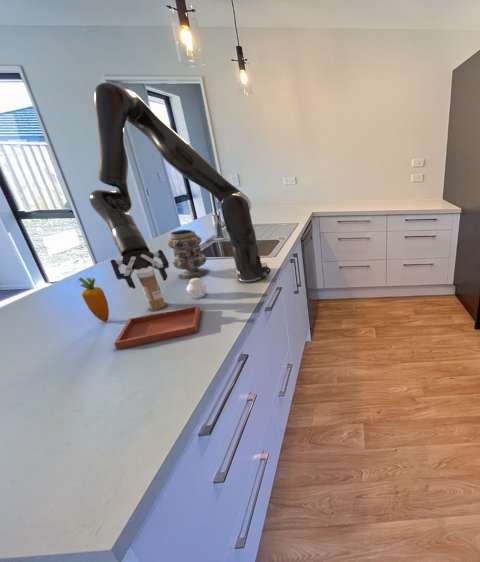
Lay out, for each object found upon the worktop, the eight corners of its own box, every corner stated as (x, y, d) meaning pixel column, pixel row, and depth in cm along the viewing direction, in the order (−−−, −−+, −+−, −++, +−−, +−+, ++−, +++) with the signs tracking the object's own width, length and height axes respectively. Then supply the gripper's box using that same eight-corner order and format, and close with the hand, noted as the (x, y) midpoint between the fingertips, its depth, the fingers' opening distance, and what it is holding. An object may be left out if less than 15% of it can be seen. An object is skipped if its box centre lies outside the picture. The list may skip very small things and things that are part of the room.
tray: (200, 310, 97) (198, 305, 96) (196, 332, 86) (194, 326, 85) (131, 324, 90) (128, 318, 89) (116, 349, 79) (114, 343, 78)
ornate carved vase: (215, 271, 128) (204, 230, 120) (186, 281, 119) (173, 237, 111) (199, 266, 134) (188, 226, 126) (171, 275, 125) (157, 233, 117)
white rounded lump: (211, 295, 107) (206, 277, 104) (193, 301, 103) (187, 283, 100) (205, 290, 111) (200, 273, 108) (186, 296, 107) (181, 278, 104)
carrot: (119, 319, 93) (100, 274, 87) (102, 327, 89) (80, 281, 83) (109, 316, 95) (89, 273, 88) (91, 324, 90) (69, 279, 84)
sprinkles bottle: (166, 307, 99) (153, 270, 94) (149, 311, 97) (135, 273, 91) (166, 302, 103) (153, 266, 97) (150, 306, 100) (136, 269, 95)
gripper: (99, 240, 90) (120, 285, 88) (155, 230, 100) (175, 271, 97) (104, 253, 96) (123, 295, 93) (156, 243, 105) (175, 281, 103)
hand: (150, 283), depth 95 cm, fingers open, 8 cm apart
